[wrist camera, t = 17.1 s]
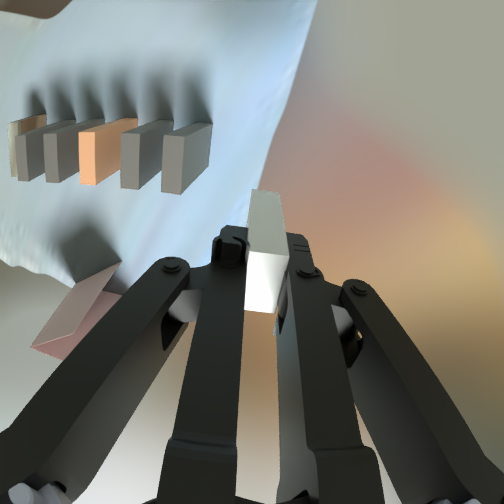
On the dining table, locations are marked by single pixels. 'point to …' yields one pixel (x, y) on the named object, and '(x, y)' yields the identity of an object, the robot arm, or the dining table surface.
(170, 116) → the dining table surface
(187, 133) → the domino
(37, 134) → the domino
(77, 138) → the domino
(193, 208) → the dining table surface
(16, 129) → the block
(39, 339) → the greeting card
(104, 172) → the orange rectangular block
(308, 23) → the dining table surface
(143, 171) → the domino
